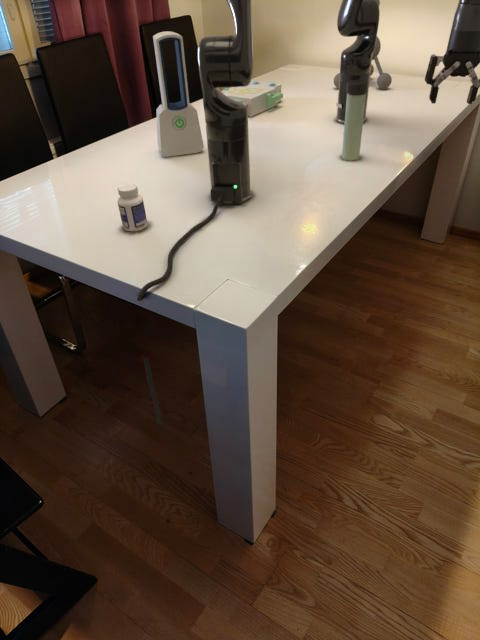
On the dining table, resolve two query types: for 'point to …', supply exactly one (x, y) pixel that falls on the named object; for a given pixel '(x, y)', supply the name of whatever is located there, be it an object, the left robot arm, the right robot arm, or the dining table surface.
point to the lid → (357, 87)
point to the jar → (353, 126)
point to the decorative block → (256, 96)
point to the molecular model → (384, 78)
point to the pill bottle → (131, 208)
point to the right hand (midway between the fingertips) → (450, 102)
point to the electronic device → (176, 106)
